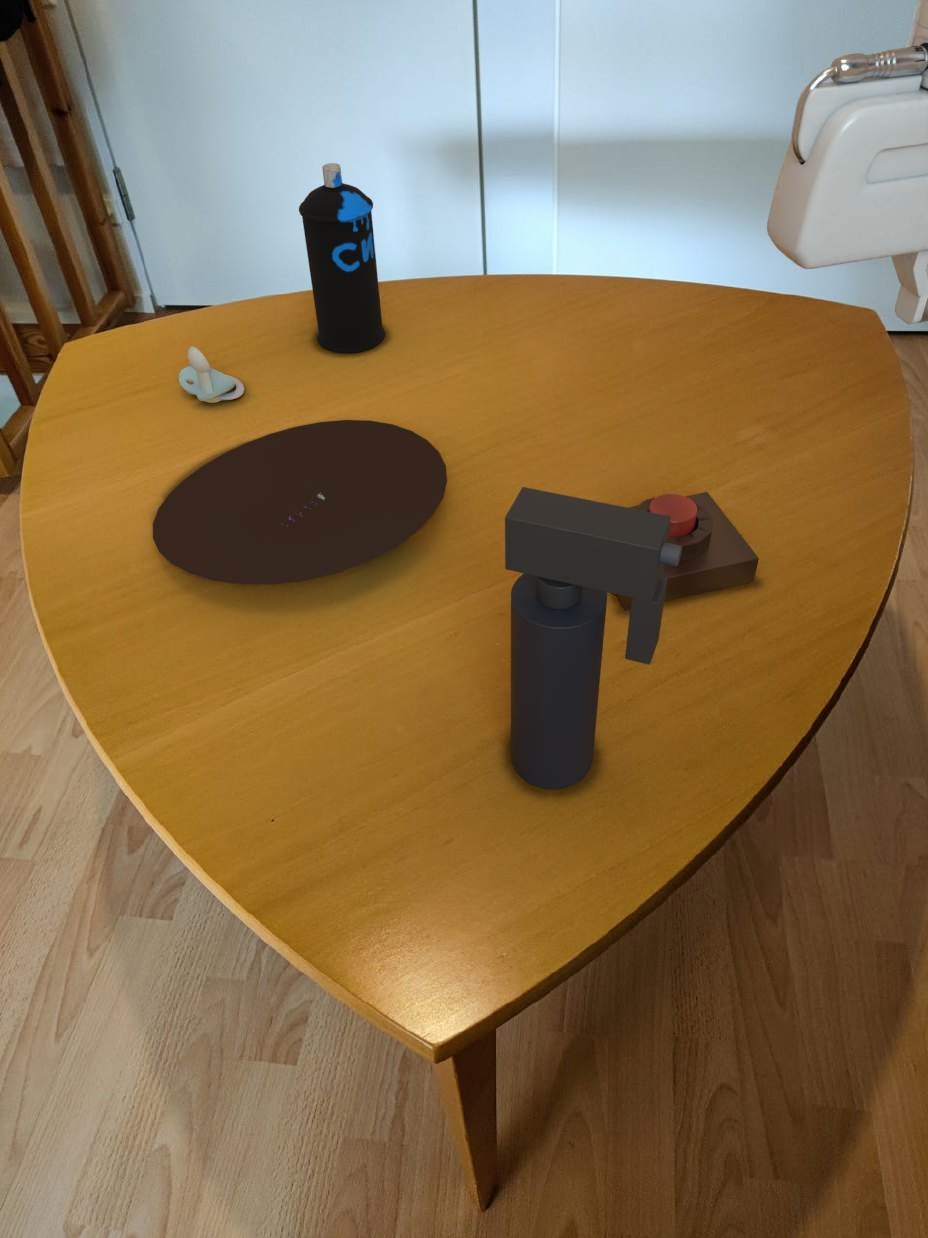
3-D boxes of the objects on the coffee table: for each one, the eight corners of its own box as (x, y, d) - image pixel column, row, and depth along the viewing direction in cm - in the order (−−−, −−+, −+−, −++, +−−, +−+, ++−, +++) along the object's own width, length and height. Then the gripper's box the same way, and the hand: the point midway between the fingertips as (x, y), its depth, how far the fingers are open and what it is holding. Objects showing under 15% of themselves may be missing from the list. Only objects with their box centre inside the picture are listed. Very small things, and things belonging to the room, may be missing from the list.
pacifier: (220, 373, 116) (175, 391, 113) (210, 322, 111) (164, 340, 108) (257, 396, 112) (211, 415, 109) (248, 344, 108) (201, 363, 104)
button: (682, 506, 88) (685, 489, 86) (702, 533, 85) (705, 516, 84) (640, 514, 87) (642, 498, 86) (658, 542, 84) (661, 525, 83)
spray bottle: (655, 751, 73) (693, 504, 58) (635, 815, 69) (670, 568, 54) (525, 716, 76) (529, 473, 60) (499, 776, 72) (496, 531, 56)
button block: (703, 514, 93) (710, 475, 90) (754, 582, 86) (763, 541, 83) (582, 539, 91) (585, 499, 88) (624, 610, 84) (628, 570, 81)
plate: (294, 405, 110) (289, 375, 107) (505, 487, 97) (505, 455, 95) (92, 538, 94) (80, 507, 91) (314, 657, 81) (308, 625, 79)
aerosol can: (303, 342, 120) (276, 171, 106) (347, 315, 125) (326, 147, 111) (356, 360, 117) (335, 185, 103) (399, 331, 121) (384, 160, 108)
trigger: (658, 639, 63) (667, 577, 60) (649, 665, 62) (658, 603, 58) (634, 633, 64) (641, 572, 60) (624, 659, 62) (631, 597, 58)
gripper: (845, 79, 42) (783, 374, 51) (1248, 28, 45) (1120, 313, 55) (772, 41, 46) (727, 319, 56) (1144, -2, 50) (1042, 266, 59)
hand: (924, 316), depth 55 cm, fingers closed
